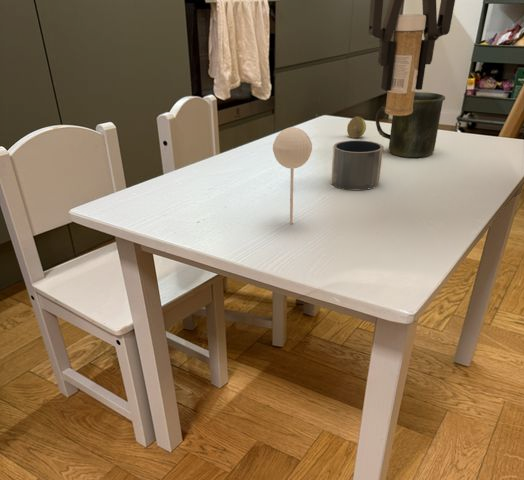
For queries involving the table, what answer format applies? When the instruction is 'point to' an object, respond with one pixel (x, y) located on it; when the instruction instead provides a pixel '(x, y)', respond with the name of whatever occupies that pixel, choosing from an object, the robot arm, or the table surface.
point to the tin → (356, 164)
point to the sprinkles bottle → (405, 64)
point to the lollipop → (292, 153)
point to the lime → (356, 127)
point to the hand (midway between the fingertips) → (401, 88)
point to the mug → (415, 127)
